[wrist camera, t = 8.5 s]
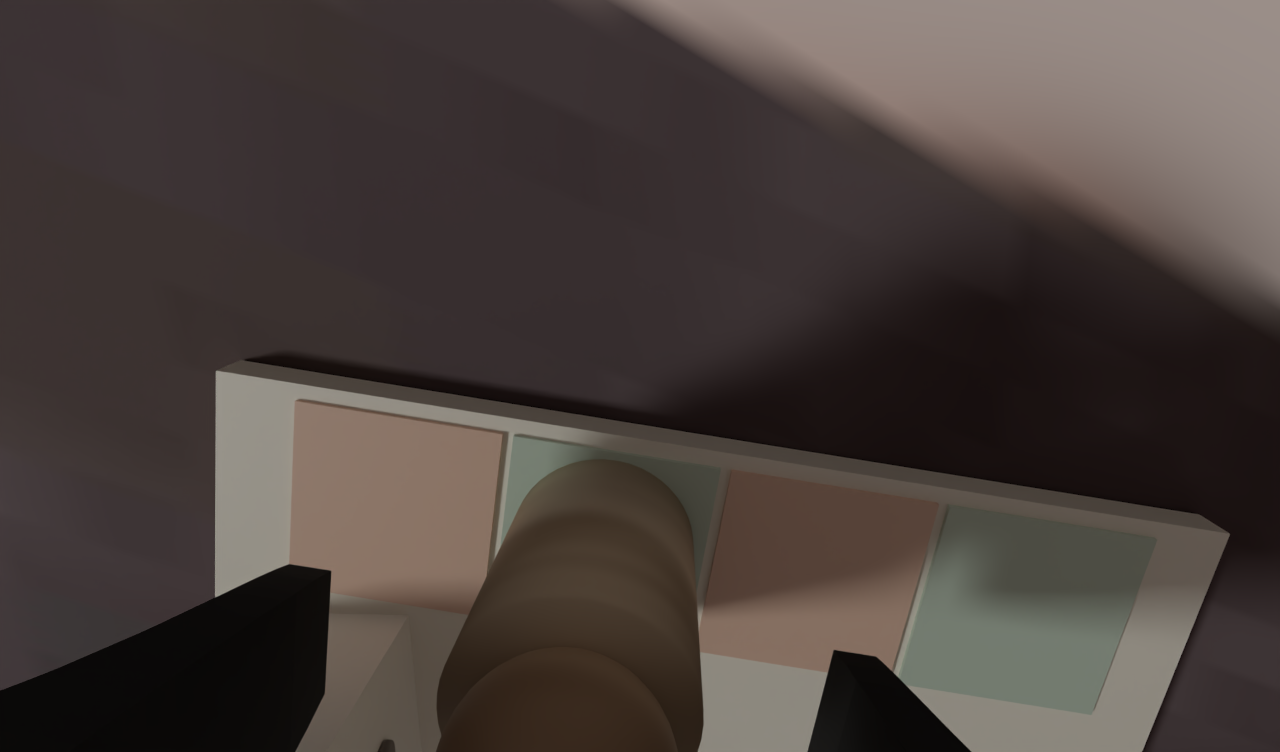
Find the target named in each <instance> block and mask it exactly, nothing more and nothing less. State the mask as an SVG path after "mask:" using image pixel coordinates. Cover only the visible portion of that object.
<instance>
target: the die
mask: <svg viewBox="0 0 1280 752" xmlns="http://www.w3.org/2000/svg"><path fill="white" fill-rule="evenodd" d="M295 752H422V750H421V739H420V729H419V718H418V708H417V697H416V687H415V676H414V666H413V655H412V645H411V634H410V624H409V615H381V614H332V613H329V626H328V645H327V664H326V683H325V694H324V696H323V698H322V700H321V702H320V704H319V706H318V709H317V711H316V713H315V715H314V717H313V719H312V721H311V723H310V725H309V727H308V729H307V731H306V732H305V734H304V736H303V738H302V740H301V742H300V744H299V746H298V748H297V749H296V751H295Z"/></svg>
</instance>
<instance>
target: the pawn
mask: <svg viewBox="0 0 1280 752" xmlns="http://www.w3.org/2000/svg"><path fill="white" fill-rule="evenodd" d="M436 710H437V719H438V725H439V729H440V732H441V738H440V741H439V743H438V746H437V750H436V752H698V749H699V746H700V742H701V739H702V732H703V726H704V709H703V693H702V677H701V660H700V644H699V627H698V611H697V594H696V578H695V561H694V545H693V534H692V528H691V525H690V521H689V518H688V515H687V513H686V511H685V509H684V507H683V505H682V504H681V502H680V501H679V499H678V498H677V496H676V495H675V494H674V493H673V492H672V490H671V489H670V488H669V487H668V486H667V485H666V484H664V483H663V482H662V481H661V480H660V479H658V478H657V477H656V476H654V475H653V474H651V473H649V472H647V471H645V470H644V469H642V468H640V467H637V466H634V465H631V464H629V463H625V462H620V461H615V460H606V459H592V460H585V461H579V462H575V463H571V464H568V465H566V466H563V467H561V468H558V469H556V470H555V471H553V472H551V473H549V474H548V475H546V476H545V477H544V478H543V479H541V480H540V481H539V482H538V483H537V484H536V485H535V486H534V487H533V488H532V489H531V490H530V491H529V492H528V494H527V495H526V497H525V498H524V500H523V501H522V503H521V505H520V507H519V509H518V511H517V513H516V515H515V517H514V519H513V522H512V524H511V526H510V528H509V530H508V532H507V534H506V536H505V538H504V541H503V543H502V545H501V547H500V549H499V551H498V553H497V555H496V557H495V560H494V562H493V564H492V566H491V568H490V570H489V572H488V574H487V577H486V579H485V581H484V583H483V585H482V587H481V589H480V591H479V593H478V596H477V598H476V600H475V602H474V604H473V606H472V608H471V610H470V612H469V615H468V617H467V619H466V621H465V623H464V625H463V627H462V629H461V632H460V634H459V636H458V638H457V640H456V642H455V644H454V646H453V648H452V651H451V653H450V655H449V657H448V659H447V661H446V663H445V666H444V668H443V671H442V674H441V677H440V680H439V685H438V690H437V704H436Z"/></svg>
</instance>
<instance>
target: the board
mask: <svg viewBox="0 0 1280 752" xmlns="http://www.w3.org/2000/svg"><path fill="white" fill-rule="evenodd" d="M592 459H606V460H615V461H620V462H625V463H629V464H631V465H634V466H637V467H640V468H642V469H644V470H645V471H647V472H649V473H651V474H653V475H654V476H656V477H657V478H658V479H660V480H661V481H662V482H663V483H664V484H666V485H667V486H668V487H669V488H670V489H671V490H672V492H673V493H674V494H675V495H676V496H677V498H678V499H679V501H680V502H681V504H682V505H683V507H684V509H685V511H686V513H687V515H688V518H689V521H690V525H691V528H692V534H693V545H694V561H695V578H696V594H697V611H698V627H699V644H700V660H701V677H702V693H703V709H704V726H703V732H702V739H701V742H700V746H699V749H698V752H808V748H809V744H810V740H811V736H812V732H813V728H814V724H815V720H816V717H817V713H818V709H819V705H820V701H821V697H822V693H823V689H824V685H825V682H826V678H827V674H828V670H829V666H830V662H831V658H832V654H833V650H838V651H845V652H851V653H857V654H864V655H870V656H876V657H877V658H878V659H880V660H881V661H882V662H883V663H884V664H885V665H886V666H887V667H888V668H889V669H890V670H891V671H892V672H893V673H894V674H895V675H896V676H897V677H898V678H899V679H900V680H901V681H902V682H903V683H904V684H905V685H906V686H907V687H908V688H909V689H910V690H911V691H912V692H913V693H914V694H915V695H916V696H917V697H918V698H919V699H920V700H921V701H922V702H923V703H924V704H925V705H926V706H927V707H928V708H929V709H930V710H931V711H932V712H933V713H934V714H935V715H936V716H937V717H938V718H939V719H940V720H941V722H942V723H943V724H944V725H945V726H946V727H947V728H948V729H949V730H950V731H951V732H952V733H953V734H954V735H955V736H956V737H957V738H958V739H959V740H960V741H961V742H962V743H963V744H964V745H965V746H966V747H967V748H968V749H969V750H970V751H971V752H1142V751H1143V748H1144V746H1145V743H1146V741H1147V738H1148V736H1149V734H1150V731H1151V729H1152V726H1153V724H1154V721H1155V719H1156V716H1157V714H1158V711H1159V709H1160V706H1161V704H1162V701H1163V699H1164V696H1165V694H1166V691H1167V689H1168V687H1169V684H1170V682H1171V679H1172V677H1173V674H1174V672H1175V669H1176V667H1177V664H1178V662H1179V659H1180V657H1181V654H1182V652H1183V649H1184V647H1185V644H1186V642H1187V640H1188V637H1189V635H1190V632H1191V630H1192V627H1193V625H1194V622H1195V620H1196V617H1197V615H1198V612H1199V610H1200V607H1201V605H1202V602H1203V600H1204V597H1205V595H1206V593H1207V590H1208V588H1209V585H1210V583H1211V580H1212V578H1213V575H1214V573H1215V570H1216V568H1217V565H1218V563H1219V560H1220V558H1221V555H1222V553H1223V550H1224V548H1225V546H1226V543H1227V541H1228V538H1229V536H1230V533H1228V532H1226V531H1225V530H1223V529H1222V528H1220V527H1218V526H1217V525H1215V524H1214V523H1212V522H1211V521H1209V520H1207V519H1206V518H1204V517H1203V516H1201V515H1199V514H1193V513H1187V512H1181V511H1174V510H1168V509H1162V508H1156V507H1150V506H1143V505H1137V504H1131V503H1125V502H1119V501H1112V500H1106V499H1100V498H1094V497H1087V496H1081V495H1075V494H1069V493H1063V492H1056V491H1050V490H1044V489H1038V488H1032V487H1025V486H1019V485H1013V484H1007V483H1001V482H994V481H988V480H982V479H976V478H970V477H963V476H957V475H951V474H945V473H938V472H932V471H926V470H920V469H914V468H907V467H901V466H895V465H889V464H883V463H876V462H870V461H864V460H858V459H852V458H845V457H839V456H833V455H827V454H820V453H814V452H808V451H802V450H796V449H789V448H783V447H777V446H771V445H765V444H758V443H752V442H746V441H740V440H734V439H727V438H721V437H715V436H709V435H703V434H696V433H690V432H684V431H678V430H671V429H665V428H659V427H653V426H647V425H640V424H634V423H628V422H622V421H616V420H609V419H603V418H597V417H591V416H585V415H578V414H572V413H566V412H560V411H553V410H547V409H541V408H535V407H529V406H522V405H516V404H510V403H504V402H498V401H491V400H485V399H479V398H473V397H467V396H460V395H454V394H448V393H442V392H435V391H429V390H423V389H417V388H411V387H404V386H398V385H392V384H386V383H380V382H373V381H367V380H361V379H355V378H349V377H342V376H336V375H330V374H324V373H318V372H311V371H305V370H299V369H293V368H286V367H280V366H274V365H268V364H262V363H255V362H249V361H243V360H240V361H238V362H235V363H233V364H231V365H228V366H226V367H223V368H221V369H219V370H216V495H215V597H217V596H220V595H222V594H224V593H226V592H228V591H230V590H232V589H234V588H236V587H238V586H240V585H242V584H244V583H247V582H249V581H251V580H253V579H255V578H257V577H259V576H262V575H264V574H266V573H268V572H271V571H273V570H275V569H278V568H280V567H283V566H285V565H288V564H292V565H299V566H305V567H311V568H318V569H324V570H330V571H331V589H330V608H329V613H332V614H381V615H409V624H410V634H411V645H412V655H413V666H414V676H415V687H416V697H417V708H418V718H419V729H420V739H421V750H422V752H436V750H437V746H438V743H439V741H440V738H441V732H440V729H439V725H438V719H437V710H436V704H437V690H438V685H439V680H440V677H441V674H442V671H443V668H444V666H445V663H446V661H447V659H448V657H449V655H450V653H451V651H452V648H453V646H454V644H455V642H456V640H457V638H458V636H459V634H460V632H461V629H462V627H463V625H464V623H465V621H466V619H467V617H468V615H469V612H470V610H471V608H472V606H473V604H474V602H475V600H476V598H477V596H478V593H479V591H480V589H481V587H482V585H483V583H484V581H485V579H486V577H487V574H488V572H489V570H490V568H491V566H492V564H493V562H494V560H495V557H496V555H497V553H498V551H499V549H500V547H501V545H502V543H503V541H504V538H505V536H506V534H507V532H508V530H509V528H510V526H511V524H512V522H513V519H514V517H515V515H516V513H517V511H518V509H519V507H520V505H521V503H522V501H523V500H524V498H525V497H526V495H527V494H528V492H529V491H530V490H531V489H532V488H533V487H534V486H535V485H536V484H537V483H538V482H539V481H540V480H541V479H543V478H544V477H545V476H546V475H548V474H549V473H551V472H553V471H555V470H556V469H558V468H561V467H563V466H566V465H568V464H571V463H575V462H579V461H585V460H592Z"/></svg>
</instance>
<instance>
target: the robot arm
mask: <svg viewBox="0 0 1280 752" xmlns="http://www.w3.org/2000/svg"><path fill="white" fill-rule="evenodd" d="M330 589H331V571H330V570H324V569H318V568H311V567H305V566H299V565H292V564H288V565H285V566H283V567H280V568H278V569H275V570H273V571H271V572H268V573H266V574H264V575H262V576H259V577H257V578H255V579H253V580H251V581H249V582H247V583H244V584H242V585H240V586H238V587H236V588H234V589H232V590H230V591H228V592H226V593H224V594H222V595H220V596H217V597H215V598H213V599H211V600H209V601H207V602H205V603H203V604H201V605H199V606H196V607H194V608H192V609H190V610H188V611H186V612H184V613H182V614H180V615H177V616H175V617H173V618H171V619H169V620H167V621H165V622H163V623H161V624H158V625H156V626H154V627H152V628H150V629H148V630H146V631H143V632H141V633H139V634H136V635H134V636H132V637H129V638H127V639H125V640H123V641H120V642H118V643H116V644H113V645H111V646H109V647H106V648H104V649H102V650H99V651H97V652H95V653H92V654H90V655H88V656H86V657H83V658H81V659H79V660H76V661H74V662H72V663H69V664H67V665H65V666H62V667H60V668H58V669H55V670H53V671H50V672H48V673H45V674H43V675H40V676H38V677H35V678H32V679H30V680H27V681H25V682H22V683H19V684H17V685H14V686H11V687H9V688H6V689H4V690H1V691H0V752H295V751H296V749H297V748H298V746H299V744H300V742H301V740H302V738H303V736H304V734H305V732H306V731H307V729H308V727H309V725H310V723H311V721H312V719H313V717H314V715H315V713H316V711H317V709H318V706H319V704H320V702H321V700H322V698H323V696H324V694H325V683H326V664H327V645H328V626H329V608H330ZM808 752H971V751H970V750H969V749H968V748H967V747H966V746H965V745H964V744H963V743H962V742H961V741H960V740H959V739H958V738H957V737H956V736H955V735H954V734H953V733H952V732H951V731H950V730H949V729H948V728H947V727H946V726H945V725H944V724H943V723H942V722H941V720H940V719H939V718H938V717H937V716H936V715H935V714H934V713H933V712H932V711H931V710H930V709H929V708H928V707H927V706H926V705H925V704H924V703H923V702H922V701H921V700H920V699H919V698H918V697H917V696H916V695H915V694H914V693H913V692H912V691H911V690H910V689H909V688H908V687H907V686H906V685H905V684H904V683H903V682H902V681H901V680H900V679H899V678H898V677H897V676H896V675H895V674H894V673H893V672H892V671H891V670H890V669H889V668H888V667H887V666H886V665H885V664H884V663H883V662H882V661H881V660H880V659H878V658H877V657H876V656H870V655H864V654H857V653H851V652H845V651H838V650H833V654H832V658H831V662H830V666H829V670H828V674H827V678H826V682H825V685H824V689H823V693H822V697H821V701H820V705H819V709H818V713H817V717H816V720H815V724H814V728H813V732H812V736H811V740H810V744H809V748H808Z"/></svg>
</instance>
